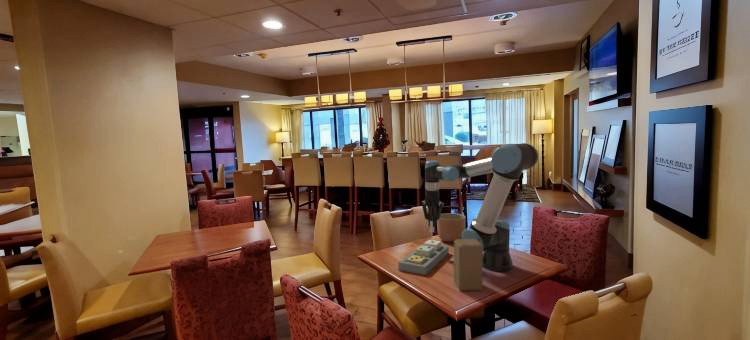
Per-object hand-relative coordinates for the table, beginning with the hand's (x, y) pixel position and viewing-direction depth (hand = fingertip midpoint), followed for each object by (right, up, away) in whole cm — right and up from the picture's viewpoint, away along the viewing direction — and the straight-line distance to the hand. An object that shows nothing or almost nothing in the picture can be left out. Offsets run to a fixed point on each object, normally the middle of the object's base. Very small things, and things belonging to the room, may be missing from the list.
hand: (432, 232), depth 196 cm
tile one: (0, -10, +1) cm, 10 cm away
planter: (+16, -10, +26) cm, 32 cm away
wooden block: (+9, -17, -39) cm, 44 cm away
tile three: (-11, -14, -18) cm, 25 cm away
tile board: (-5, -14, -8) cm, 17 cm away
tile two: (-5, -11, -9) cm, 15 cm away
